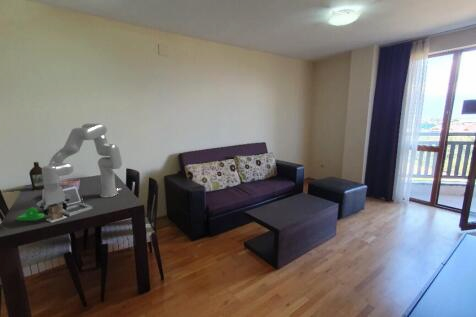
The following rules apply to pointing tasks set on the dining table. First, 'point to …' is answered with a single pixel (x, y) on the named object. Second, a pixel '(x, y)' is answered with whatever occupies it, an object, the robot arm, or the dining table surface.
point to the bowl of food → (70, 183)
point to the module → (55, 211)
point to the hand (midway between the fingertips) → (56, 212)
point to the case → (74, 201)
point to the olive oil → (36, 177)
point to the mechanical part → (30, 215)
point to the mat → (56, 219)
